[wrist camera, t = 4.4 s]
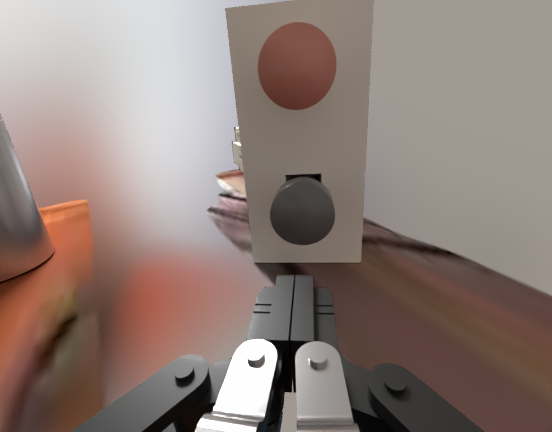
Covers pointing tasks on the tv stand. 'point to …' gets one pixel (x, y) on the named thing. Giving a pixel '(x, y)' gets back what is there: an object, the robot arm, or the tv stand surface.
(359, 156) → the mount
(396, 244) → the tv stand surface
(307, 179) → the knob
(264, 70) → the knob
